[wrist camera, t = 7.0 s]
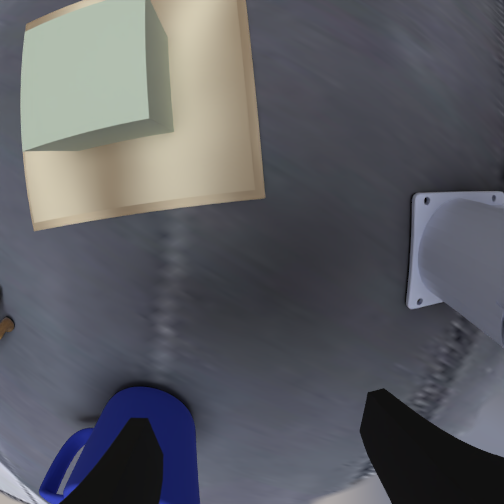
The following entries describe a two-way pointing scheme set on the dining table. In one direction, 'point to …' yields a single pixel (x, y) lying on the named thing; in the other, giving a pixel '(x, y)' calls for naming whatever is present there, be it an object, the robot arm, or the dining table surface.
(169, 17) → the plinth
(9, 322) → the lion figurine
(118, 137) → the sage cube
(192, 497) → the mug
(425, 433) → the robot arm
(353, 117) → the dining table surface
